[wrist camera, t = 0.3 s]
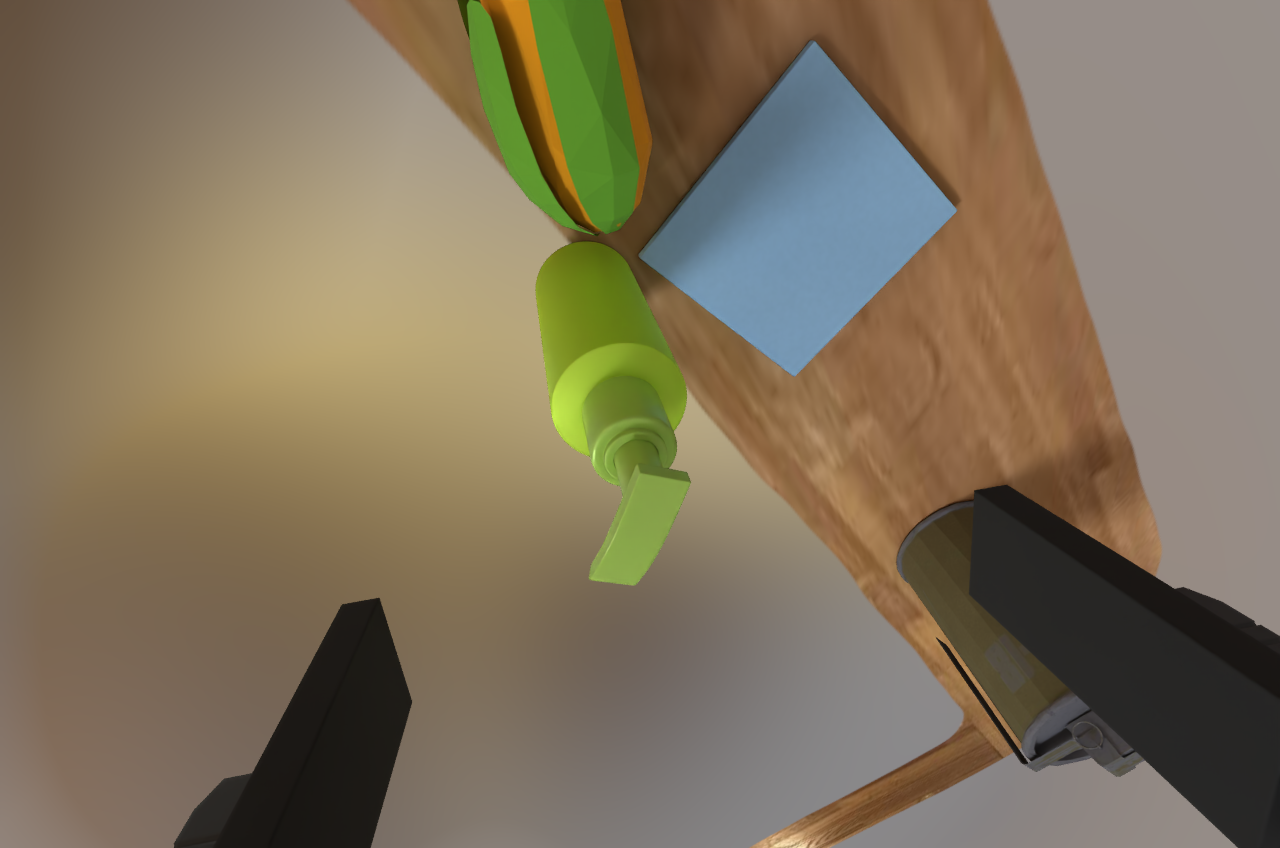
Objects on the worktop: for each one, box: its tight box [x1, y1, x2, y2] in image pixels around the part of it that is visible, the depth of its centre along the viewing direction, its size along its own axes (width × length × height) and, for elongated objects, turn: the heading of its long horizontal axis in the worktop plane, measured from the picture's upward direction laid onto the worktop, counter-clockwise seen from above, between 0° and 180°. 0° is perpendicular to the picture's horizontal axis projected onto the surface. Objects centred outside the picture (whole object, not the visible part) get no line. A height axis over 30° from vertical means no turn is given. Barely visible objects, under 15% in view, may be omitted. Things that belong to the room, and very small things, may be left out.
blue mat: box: [639, 40, 957, 377], centre depth 38 cm, size 14×14×1 cm
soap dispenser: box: [536, 241, 691, 585], centre depth 30 cm, size 6×7×20 cm
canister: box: [897, 501, 1144, 776], centre depth 49 cm, size 11×10×20 cm
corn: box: [458, 0, 653, 236], centre depth 27 cm, size 7×8×20 cm
